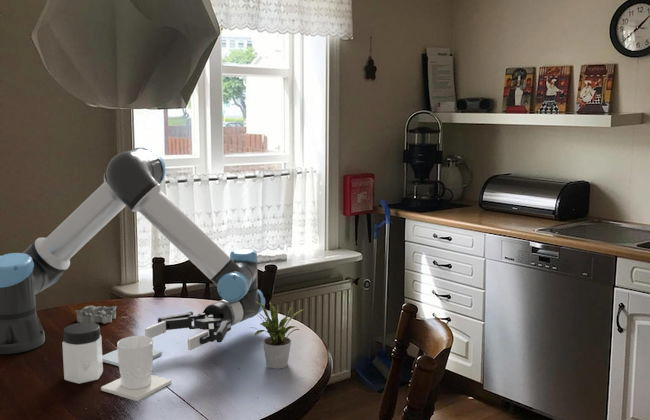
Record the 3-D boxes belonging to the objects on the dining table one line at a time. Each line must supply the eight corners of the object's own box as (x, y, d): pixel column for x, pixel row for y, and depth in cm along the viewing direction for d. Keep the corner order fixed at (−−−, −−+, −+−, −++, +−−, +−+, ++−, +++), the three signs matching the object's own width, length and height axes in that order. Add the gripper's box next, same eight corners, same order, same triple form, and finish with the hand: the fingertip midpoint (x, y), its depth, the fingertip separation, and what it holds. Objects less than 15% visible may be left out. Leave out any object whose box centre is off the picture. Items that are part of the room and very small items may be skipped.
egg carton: (73, 323, 203) (72, 310, 202) (85, 315, 210) (84, 302, 209) (109, 325, 202) (108, 311, 201) (119, 316, 209) (118, 303, 208)
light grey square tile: (98, 360, 175) (98, 357, 175) (130, 346, 184) (130, 343, 184) (130, 369, 170) (130, 366, 170) (161, 354, 179) (161, 351, 179)
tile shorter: (101, 390, 158) (101, 386, 158) (136, 373, 167) (136, 370, 167) (137, 401, 153) (136, 397, 152) (171, 383, 162) (171, 380, 162)
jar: (68, 386, 160) (66, 336, 158) (60, 374, 166) (57, 326, 164) (108, 378, 165) (105, 329, 162) (98, 366, 171) (96, 319, 169)
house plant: (231, 365, 172) (230, 302, 170) (268, 349, 183) (267, 289, 181) (275, 380, 164) (275, 313, 161) (311, 362, 175) (311, 299, 172)
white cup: (140, 373, 165) (138, 333, 164) (161, 382, 160) (160, 341, 159) (111, 384, 159) (109, 342, 158) (132, 393, 154) (130, 351, 153)
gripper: (261, 337, 180) (208, 364, 162) (186, 320, 192) (129, 344, 174) (260, 309, 179) (207, 333, 161) (186, 294, 191) (128, 315, 173)
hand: (167, 339), depth 167 cm, fingers open, 13 cm apart
